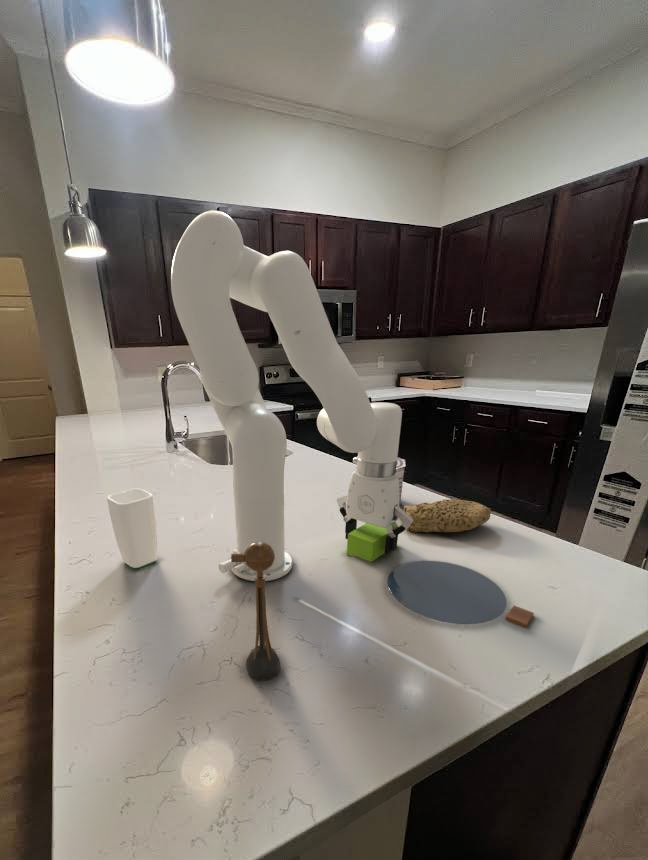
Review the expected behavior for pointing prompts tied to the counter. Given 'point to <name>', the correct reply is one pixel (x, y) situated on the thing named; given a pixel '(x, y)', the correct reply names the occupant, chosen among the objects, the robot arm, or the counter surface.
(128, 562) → the cup
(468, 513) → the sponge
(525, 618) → the brown rectangular block
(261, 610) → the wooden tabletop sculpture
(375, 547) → the small sponge
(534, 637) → the counter surface
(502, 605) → the plate
